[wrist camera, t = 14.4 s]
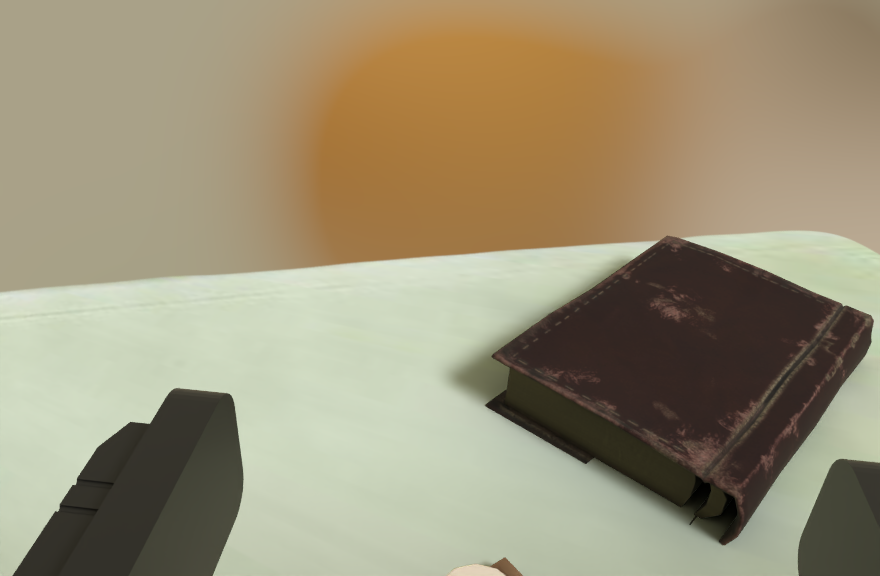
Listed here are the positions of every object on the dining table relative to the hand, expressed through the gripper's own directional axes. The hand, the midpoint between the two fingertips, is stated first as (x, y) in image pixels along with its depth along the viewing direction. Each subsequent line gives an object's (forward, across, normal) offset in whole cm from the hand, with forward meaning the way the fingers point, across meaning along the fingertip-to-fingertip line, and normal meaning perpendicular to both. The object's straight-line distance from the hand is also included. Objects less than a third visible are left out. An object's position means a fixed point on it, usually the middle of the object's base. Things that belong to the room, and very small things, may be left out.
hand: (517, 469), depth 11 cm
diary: (+39, -14, +30) cm, 51 cm away
